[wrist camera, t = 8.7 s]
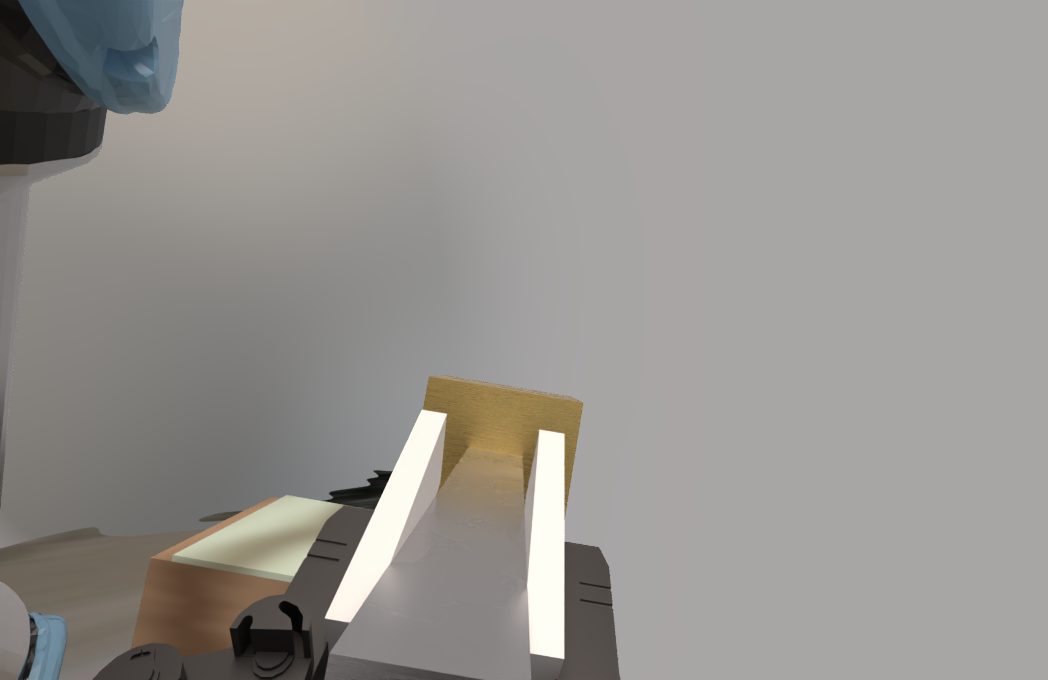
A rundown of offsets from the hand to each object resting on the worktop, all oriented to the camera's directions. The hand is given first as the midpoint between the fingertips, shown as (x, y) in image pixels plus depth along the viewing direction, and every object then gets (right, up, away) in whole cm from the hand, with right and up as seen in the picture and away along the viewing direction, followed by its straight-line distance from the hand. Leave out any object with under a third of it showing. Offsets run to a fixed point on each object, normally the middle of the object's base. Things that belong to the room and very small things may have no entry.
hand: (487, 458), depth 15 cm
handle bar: (-1, -4, +4) cm, 6 cm away
